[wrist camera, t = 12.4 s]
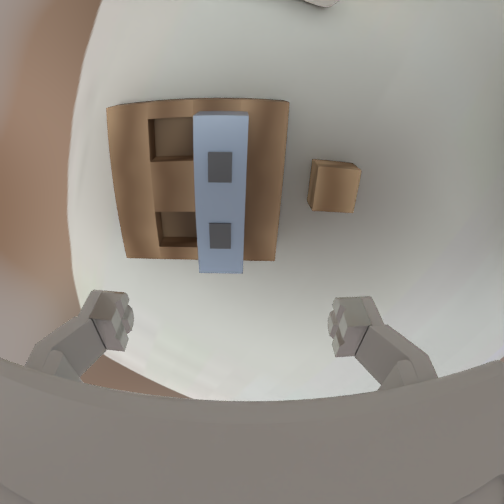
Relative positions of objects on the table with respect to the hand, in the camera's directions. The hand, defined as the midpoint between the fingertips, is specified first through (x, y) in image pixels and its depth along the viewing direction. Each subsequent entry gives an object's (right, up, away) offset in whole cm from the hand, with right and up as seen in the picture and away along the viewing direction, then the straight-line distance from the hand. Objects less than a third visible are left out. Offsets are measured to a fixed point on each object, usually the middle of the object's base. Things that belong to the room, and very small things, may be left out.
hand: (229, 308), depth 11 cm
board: (-4, +10, +17) cm, 20 cm away
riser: (+9, +9, +18) cm, 22 cm away
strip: (-2, +9, +16) cm, 19 cm away
